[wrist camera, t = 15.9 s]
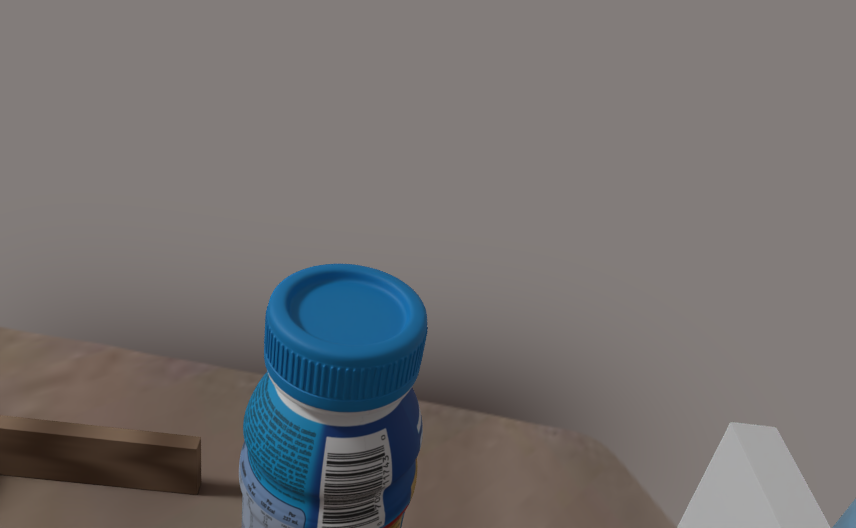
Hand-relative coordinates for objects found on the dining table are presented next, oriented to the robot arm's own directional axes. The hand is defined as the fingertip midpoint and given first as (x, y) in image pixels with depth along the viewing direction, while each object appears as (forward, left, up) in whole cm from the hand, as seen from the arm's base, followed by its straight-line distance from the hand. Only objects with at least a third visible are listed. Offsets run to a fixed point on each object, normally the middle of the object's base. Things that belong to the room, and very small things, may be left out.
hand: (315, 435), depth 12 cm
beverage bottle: (0, -17, -30) cm, 34 cm away
